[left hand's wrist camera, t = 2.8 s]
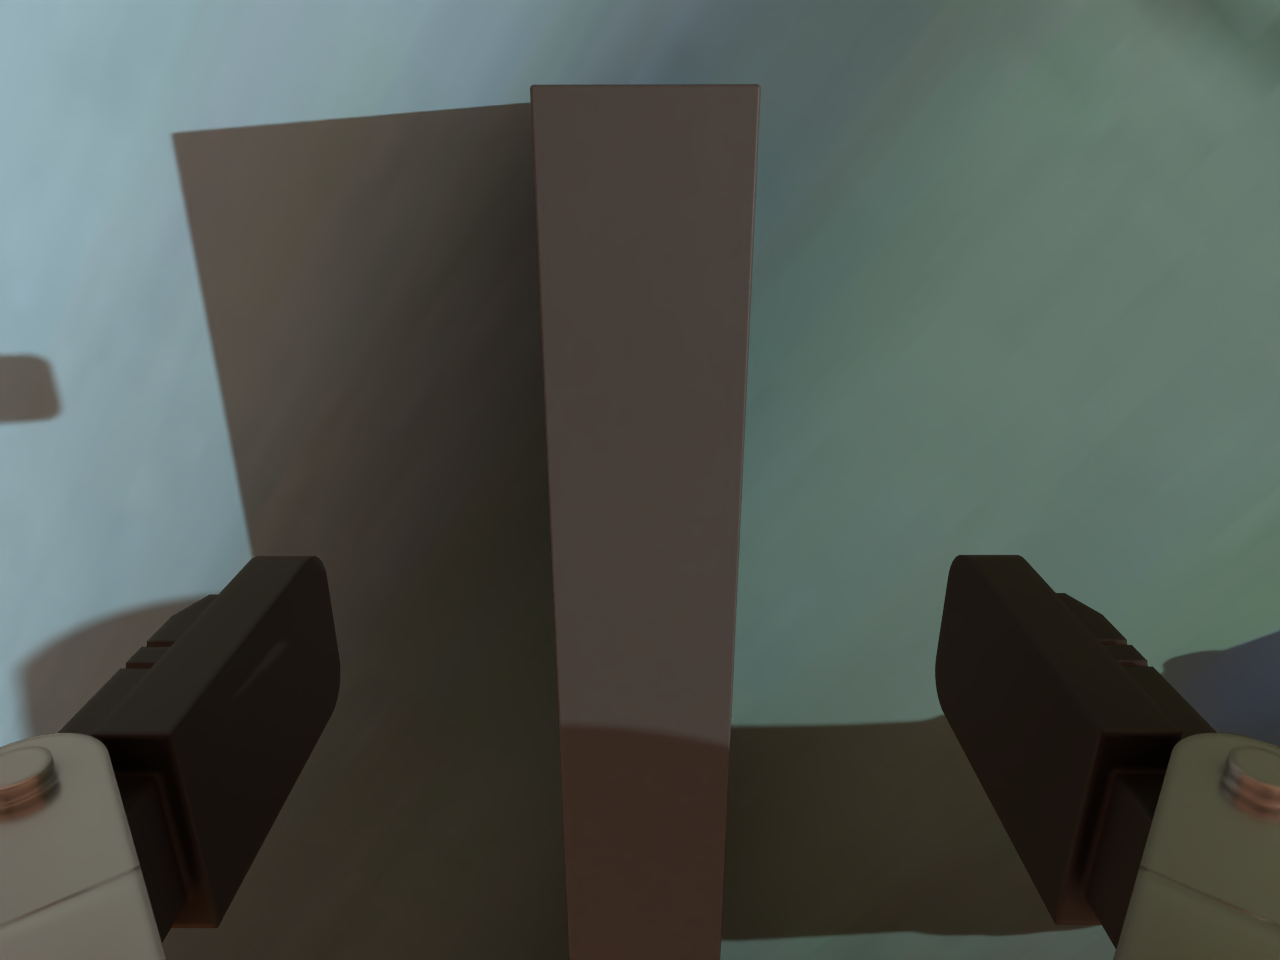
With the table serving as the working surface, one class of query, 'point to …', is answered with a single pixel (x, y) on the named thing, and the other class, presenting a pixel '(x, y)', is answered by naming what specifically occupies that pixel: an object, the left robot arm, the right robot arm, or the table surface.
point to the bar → (645, 491)
